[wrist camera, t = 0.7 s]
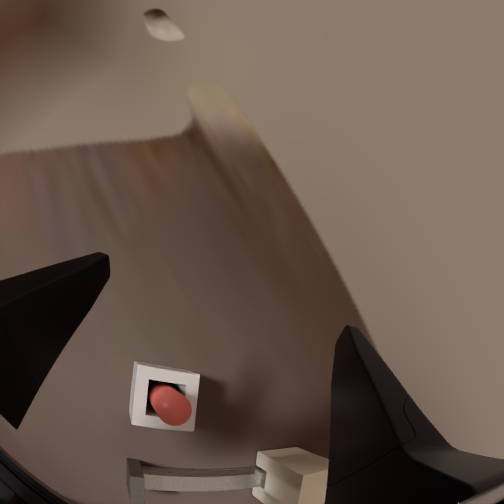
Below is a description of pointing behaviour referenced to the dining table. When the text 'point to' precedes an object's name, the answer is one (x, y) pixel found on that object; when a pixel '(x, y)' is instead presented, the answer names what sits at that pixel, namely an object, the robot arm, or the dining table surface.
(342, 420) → the robot arm
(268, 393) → the dining table surface
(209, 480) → the rail
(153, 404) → the plunger
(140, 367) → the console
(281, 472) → the carriage
